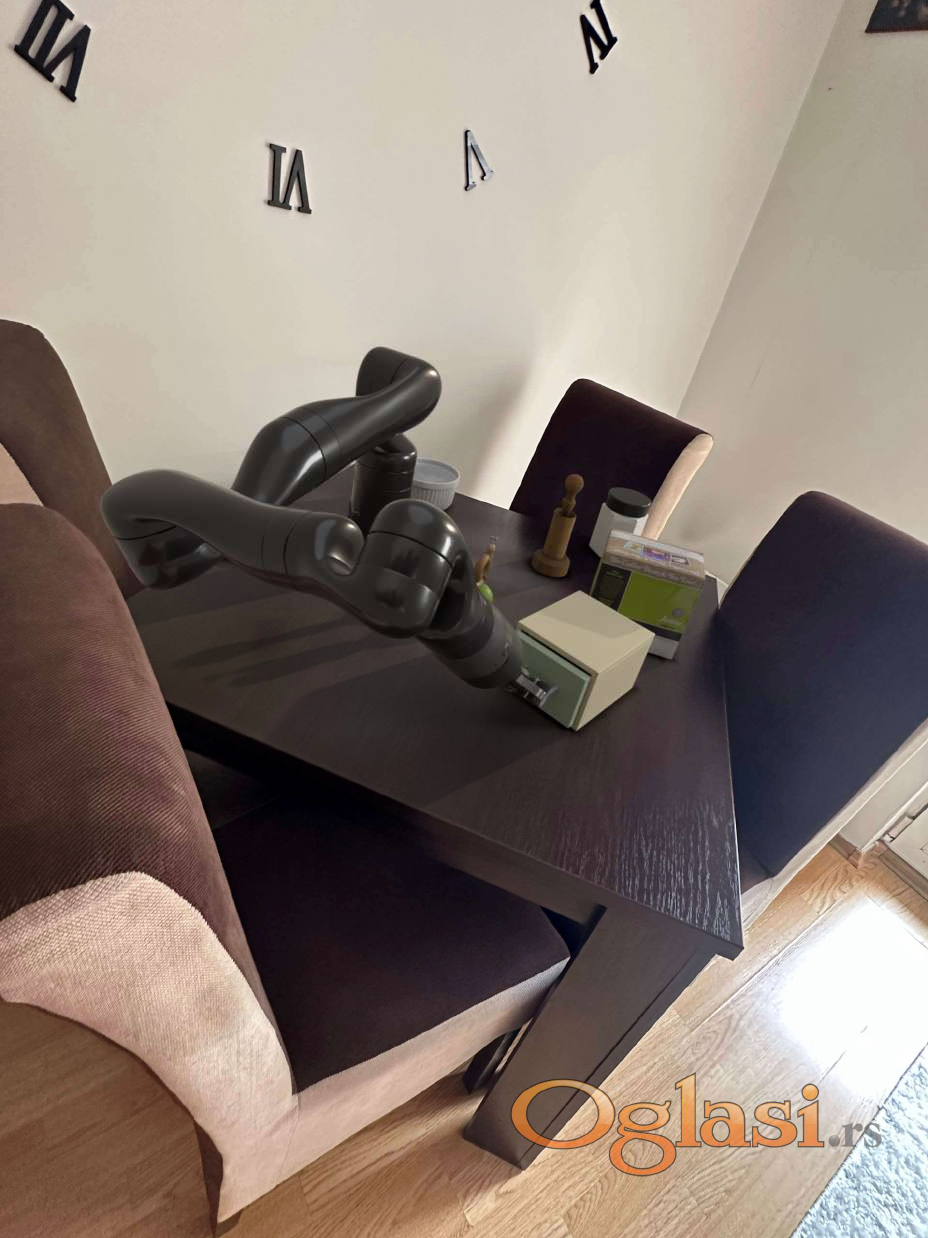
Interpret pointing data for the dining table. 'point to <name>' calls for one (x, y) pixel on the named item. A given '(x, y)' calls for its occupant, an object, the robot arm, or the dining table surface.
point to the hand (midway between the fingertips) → (521, 687)
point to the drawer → (555, 679)
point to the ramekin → (434, 482)
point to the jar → (620, 516)
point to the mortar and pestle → (559, 534)
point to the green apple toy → (485, 570)
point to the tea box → (650, 585)
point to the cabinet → (592, 647)
